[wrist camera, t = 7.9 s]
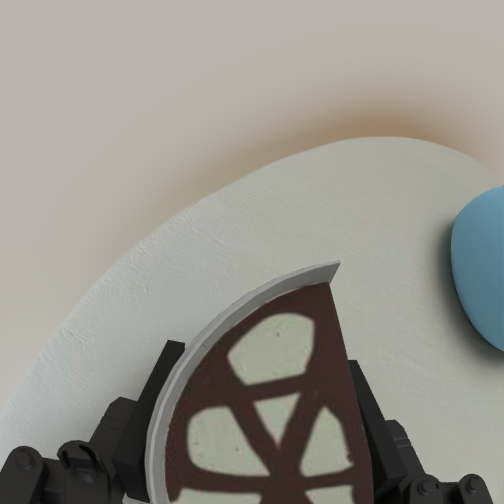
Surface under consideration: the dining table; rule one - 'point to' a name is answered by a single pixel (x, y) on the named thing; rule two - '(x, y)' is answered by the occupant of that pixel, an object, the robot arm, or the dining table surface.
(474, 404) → the dining table surface
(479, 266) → the sugar bowl
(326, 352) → the food container
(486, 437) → the dining table surface
